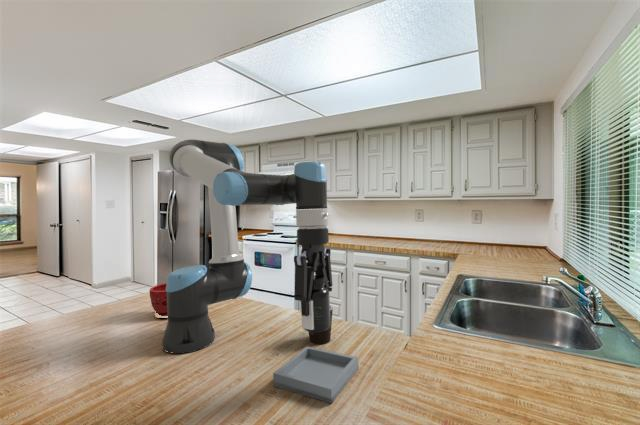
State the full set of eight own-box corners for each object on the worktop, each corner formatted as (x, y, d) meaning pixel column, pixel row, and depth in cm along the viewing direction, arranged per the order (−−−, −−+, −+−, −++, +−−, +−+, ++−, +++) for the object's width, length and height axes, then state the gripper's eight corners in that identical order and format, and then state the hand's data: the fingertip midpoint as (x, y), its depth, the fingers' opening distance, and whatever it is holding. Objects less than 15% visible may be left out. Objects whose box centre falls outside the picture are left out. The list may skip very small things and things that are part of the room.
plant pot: (156, 312, 127) (154, 283, 127) (189, 308, 130) (188, 280, 130) (146, 323, 114) (144, 291, 114) (184, 319, 118) (182, 288, 117)
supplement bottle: (308, 320, 78) (306, 273, 78) (334, 323, 76) (332, 274, 75) (297, 331, 71) (295, 279, 71) (325, 334, 69) (323, 281, 69)
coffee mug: (331, 347, 90) (330, 313, 89) (302, 345, 91) (301, 312, 91) (337, 331, 101) (336, 301, 101) (311, 330, 103) (310, 300, 102)
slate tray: (273, 385, 71) (273, 373, 71) (307, 357, 84) (306, 346, 84) (331, 403, 64) (331, 389, 64) (358, 369, 77) (358, 357, 77)
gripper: (304, 230, 63) (308, 342, 63) (343, 224, 80) (347, 312, 80) (274, 230, 66) (278, 336, 67) (318, 224, 84) (321, 308, 84)
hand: (316, 322), depth 73 cm, fingers closed on supplement bottle, 7 cm apart
